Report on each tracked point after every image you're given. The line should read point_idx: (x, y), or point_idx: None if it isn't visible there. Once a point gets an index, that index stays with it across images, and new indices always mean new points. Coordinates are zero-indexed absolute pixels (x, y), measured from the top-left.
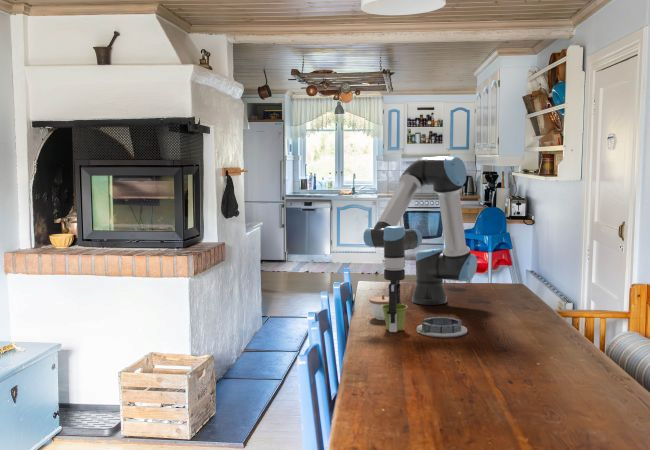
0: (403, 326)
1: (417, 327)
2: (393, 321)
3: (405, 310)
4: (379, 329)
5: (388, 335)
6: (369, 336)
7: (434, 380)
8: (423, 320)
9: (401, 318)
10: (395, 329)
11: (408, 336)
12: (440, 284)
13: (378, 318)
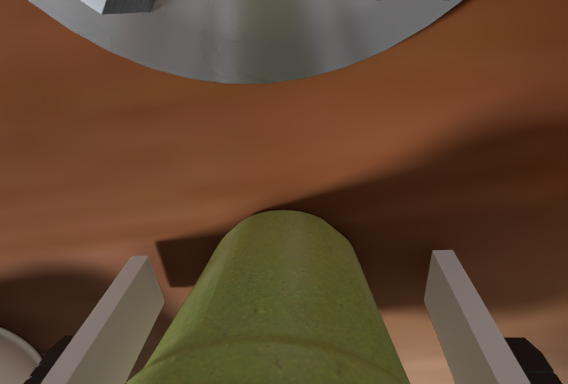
0: (282, 222)
1: (258, 74)
2: (540, 366)
3: (320, 374)
4: None
5: (491, 286)
6: None
7: None
8: (116, 4)
9: (358, 308)
10: (458, 274)
11: (551, 127)
12: None
13: None
